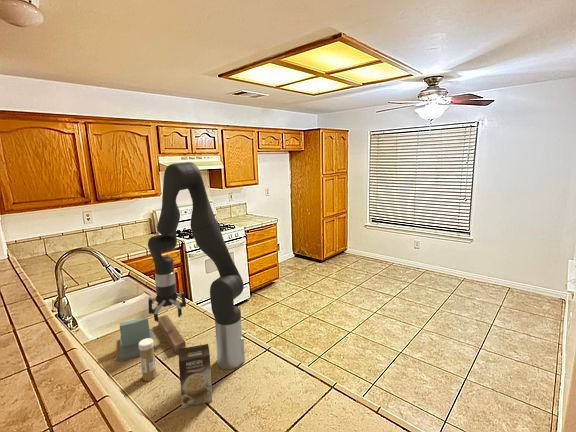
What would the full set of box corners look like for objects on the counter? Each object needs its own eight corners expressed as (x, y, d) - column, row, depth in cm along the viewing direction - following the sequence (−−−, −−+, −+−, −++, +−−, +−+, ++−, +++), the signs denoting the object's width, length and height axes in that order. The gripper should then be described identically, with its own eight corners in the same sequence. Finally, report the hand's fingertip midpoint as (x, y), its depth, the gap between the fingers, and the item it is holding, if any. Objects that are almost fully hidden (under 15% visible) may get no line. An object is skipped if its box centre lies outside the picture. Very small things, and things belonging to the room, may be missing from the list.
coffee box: (181, 409, 89) (177, 361, 86) (181, 394, 95) (177, 348, 92) (213, 401, 92) (209, 354, 89) (211, 386, 98) (208, 342, 95)
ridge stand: (152, 331, 130) (149, 309, 128) (154, 352, 116) (151, 327, 114) (121, 338, 125) (118, 315, 123) (118, 361, 110) (115, 335, 108)
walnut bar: (167, 322, 137) (167, 314, 137) (186, 350, 117) (185, 341, 116) (158, 325, 135) (157, 317, 134) (175, 354, 114) (174, 345, 114)
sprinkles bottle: (158, 378, 102) (154, 342, 99) (143, 383, 99) (139, 347, 97) (155, 370, 106) (151, 336, 103) (141, 375, 103) (137, 340, 101)
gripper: (146, 289, 115) (150, 327, 118) (185, 282, 121) (187, 318, 124) (146, 282, 121) (149, 318, 124) (182, 276, 128) (185, 310, 131)
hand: (168, 318), depth 124 cm, fingers open, 8 cm apart
